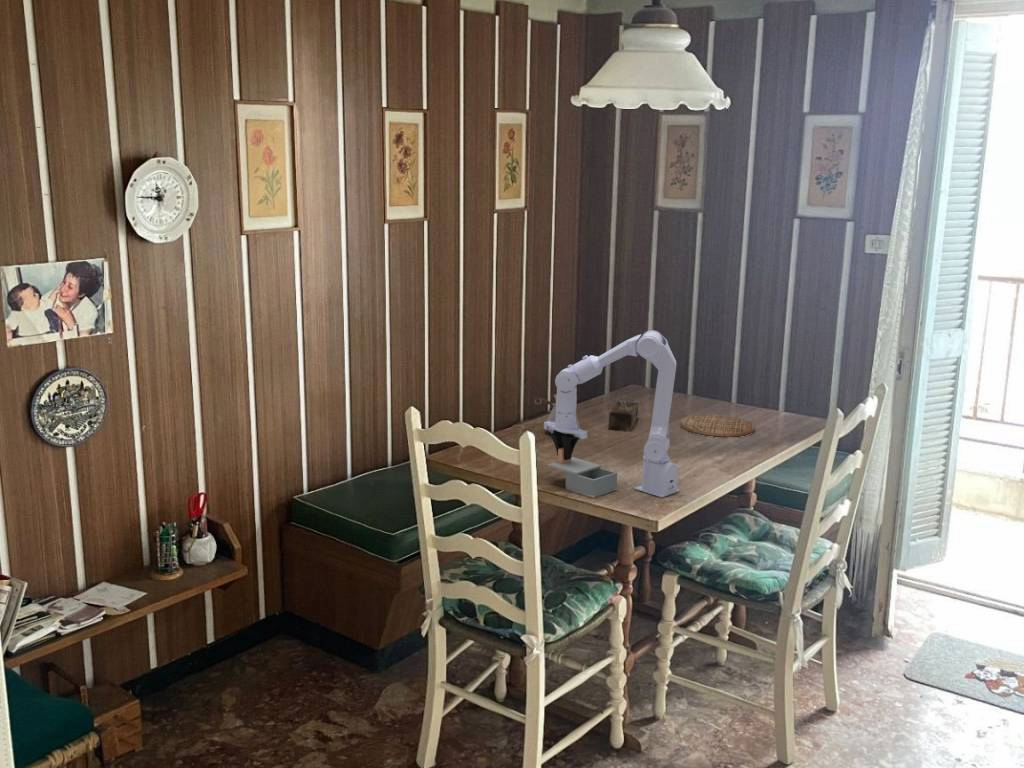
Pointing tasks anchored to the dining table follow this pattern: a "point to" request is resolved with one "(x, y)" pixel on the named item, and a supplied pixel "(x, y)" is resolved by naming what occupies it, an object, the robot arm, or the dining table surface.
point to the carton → (592, 482)
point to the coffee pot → (553, 412)
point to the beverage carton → (623, 416)
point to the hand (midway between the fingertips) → (564, 458)
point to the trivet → (717, 425)
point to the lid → (572, 464)
